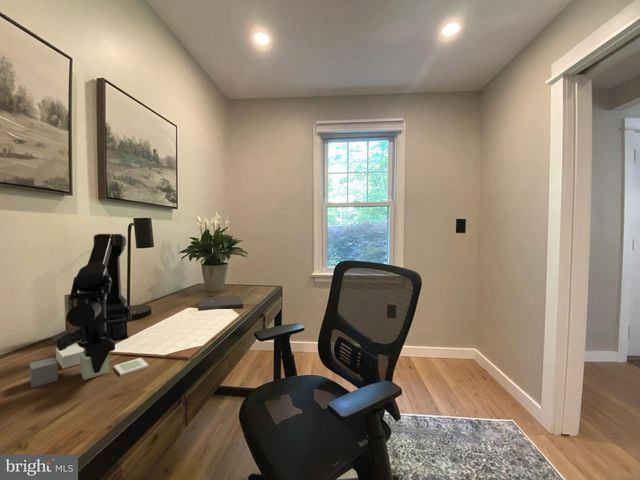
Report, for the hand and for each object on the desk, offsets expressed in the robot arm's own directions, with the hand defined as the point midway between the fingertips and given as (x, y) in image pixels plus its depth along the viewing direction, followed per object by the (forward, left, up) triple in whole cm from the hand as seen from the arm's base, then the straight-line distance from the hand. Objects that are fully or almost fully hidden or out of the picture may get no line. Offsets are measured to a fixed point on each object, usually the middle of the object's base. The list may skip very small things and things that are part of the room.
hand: (94, 369), depth 80 cm
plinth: (+1, -15, -1) cm, 15 cm away
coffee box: (-3, -40, -1) cm, 40 cm away
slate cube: (+10, -5, -1) cm, 11 cm away
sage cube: (0, 0, -1) cm, 1 cm away
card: (-8, +4, -1) cm, 9 cm away
